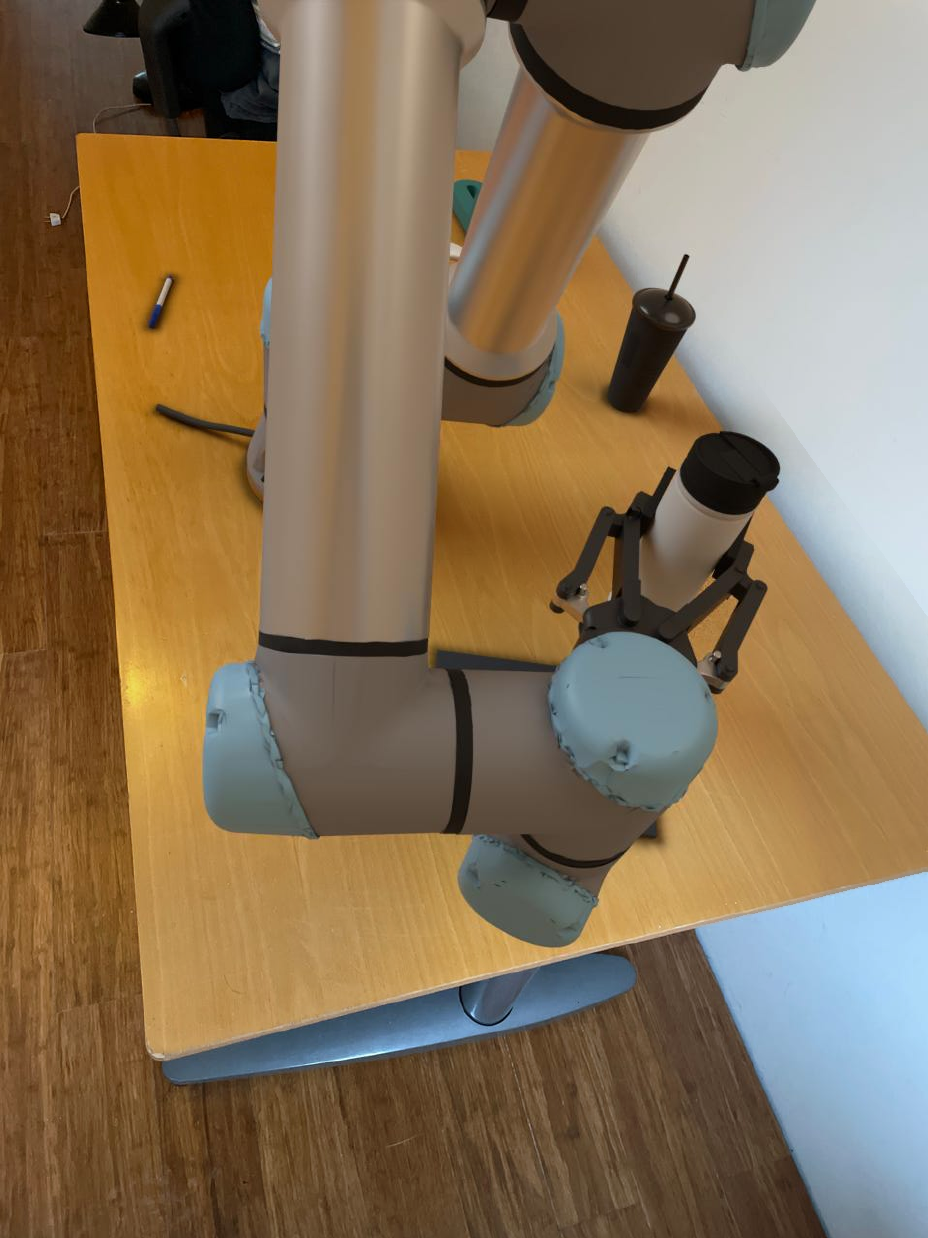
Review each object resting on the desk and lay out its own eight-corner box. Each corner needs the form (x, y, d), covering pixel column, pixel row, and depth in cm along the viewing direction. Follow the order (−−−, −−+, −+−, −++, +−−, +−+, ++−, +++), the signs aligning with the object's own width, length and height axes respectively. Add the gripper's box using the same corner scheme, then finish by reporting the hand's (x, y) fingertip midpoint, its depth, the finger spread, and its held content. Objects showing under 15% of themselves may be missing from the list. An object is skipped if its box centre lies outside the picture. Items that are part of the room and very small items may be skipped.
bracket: (523, 258, 121) (536, 206, 114) (481, 259, 118) (492, 206, 112) (483, 193, 130) (494, 142, 124) (444, 193, 128) (452, 140, 121)
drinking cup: (651, 426, 103) (719, 283, 87) (593, 410, 103) (651, 263, 87) (654, 390, 108) (720, 248, 92) (599, 374, 107) (655, 228, 91)
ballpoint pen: (156, 330, 97) (155, 322, 96) (148, 328, 97) (147, 321, 96) (173, 279, 103) (172, 272, 102) (165, 278, 103) (165, 271, 102)
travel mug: (630, 659, 69) (738, 494, 53) (589, 600, 72) (680, 427, 56) (686, 638, 72) (805, 475, 56) (644, 582, 75) (746, 412, 59)
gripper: (467, 668, 57) (585, 479, 71) (719, 803, 54) (791, 580, 68) (489, 604, 51) (613, 412, 65) (774, 752, 48) (840, 519, 62)
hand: (704, 498), depth 66 cm, fingers closed on travel mug, 6 cm apart
